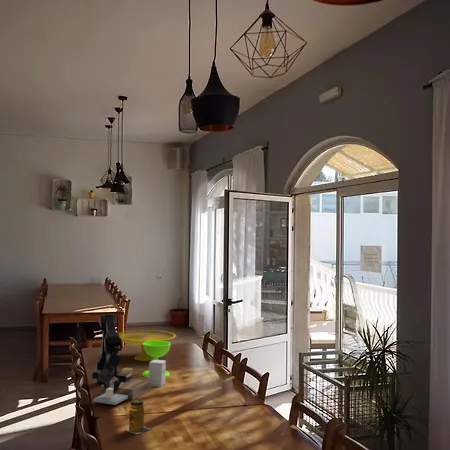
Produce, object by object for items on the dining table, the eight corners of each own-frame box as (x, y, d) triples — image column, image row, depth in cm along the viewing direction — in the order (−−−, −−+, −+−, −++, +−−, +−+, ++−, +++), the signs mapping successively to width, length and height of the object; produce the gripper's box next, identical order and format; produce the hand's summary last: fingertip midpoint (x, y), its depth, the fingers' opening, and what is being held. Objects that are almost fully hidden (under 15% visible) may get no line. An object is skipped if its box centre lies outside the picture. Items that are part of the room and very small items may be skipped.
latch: (121, 374, 293) (121, 369, 293) (125, 373, 296) (125, 367, 296) (129, 375, 291) (129, 370, 291) (132, 374, 295) (133, 368, 295)
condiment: (124, 430, 229) (125, 401, 230) (140, 425, 236) (140, 396, 236) (136, 434, 225) (137, 405, 225) (151, 429, 231) (152, 400, 231)
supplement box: (161, 387, 295) (162, 363, 295) (148, 385, 297) (148, 362, 297) (165, 383, 302) (166, 360, 303) (152, 382, 304) (153, 359, 304)
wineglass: (136, 376, 316) (137, 344, 317) (150, 370, 331) (151, 339, 332) (161, 379, 310) (162, 347, 311) (174, 373, 325) (175, 342, 325)
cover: (93, 401, 262) (93, 390, 262) (106, 394, 273) (107, 384, 273) (115, 404, 258) (115, 393, 258) (128, 397, 269) (128, 387, 269)
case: (100, 395, 277) (101, 383, 277) (119, 386, 294) (119, 374, 294) (132, 400, 271) (133, 387, 271) (149, 390, 288) (150, 378, 288)
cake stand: (172, 366, 341) (173, 342, 341) (107, 364, 341) (108, 340, 342) (179, 352, 381) (179, 330, 381) (120, 351, 382) (121, 329, 382)
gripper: (85, 363, 262) (84, 396, 261) (120, 367, 255) (119, 401, 255) (98, 358, 272) (97, 390, 272) (132, 362, 266) (131, 394, 265)
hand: (111, 394), depth 266 cm, fingers closed on cover, 3 cm apart
